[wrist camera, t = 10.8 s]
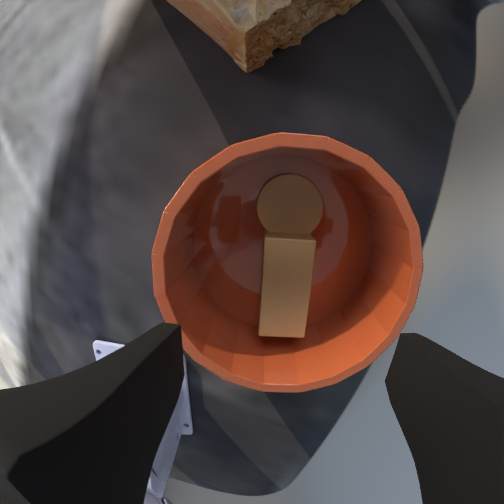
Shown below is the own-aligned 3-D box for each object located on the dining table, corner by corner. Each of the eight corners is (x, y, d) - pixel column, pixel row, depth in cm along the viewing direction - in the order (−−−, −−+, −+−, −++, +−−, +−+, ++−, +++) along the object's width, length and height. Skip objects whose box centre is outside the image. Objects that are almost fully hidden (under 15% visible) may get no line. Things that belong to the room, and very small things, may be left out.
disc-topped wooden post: (306, 314, 19) (313, 338, 16) (251, 312, 19) (249, 335, 16) (320, 175, 17) (332, 176, 14) (258, 171, 17) (257, 171, 14)
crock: (359, 332, 20) (389, 388, 14) (189, 325, 20) (163, 382, 14) (384, 158, 17) (437, 155, 11) (189, 144, 17) (151, 131, 11)
